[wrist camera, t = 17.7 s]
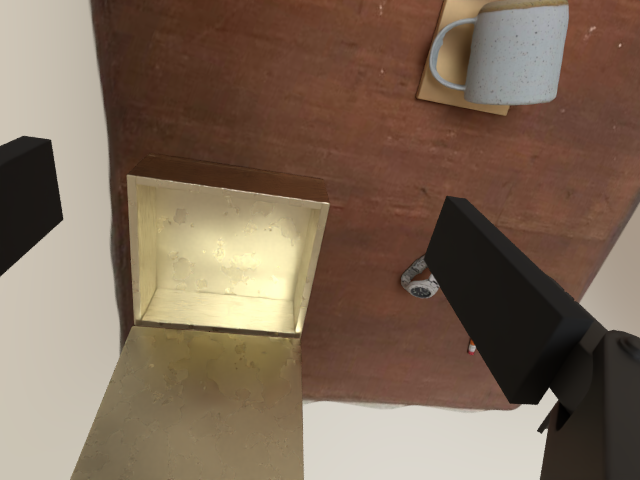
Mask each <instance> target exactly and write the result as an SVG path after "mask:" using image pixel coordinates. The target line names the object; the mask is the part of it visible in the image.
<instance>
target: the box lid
mask: <svg viewBox="0 0 640 480" xmlns="http://www.w3.org/2000/svg"><path fill="white" fill-rule="evenodd" d="M303 466H304V464H303V412H302V357H301V339H290V338H277V337H264V336H252V335H239V334H227V333H214V332H202V331H189V330H177V329H164V328H152V327H139V326H132V328H131V331H130V333H129V335H128V338H127V340H126V343H125V345H124V348H123V350H122V353H121V355H120V358H119V360H118V363H117V365H116V368H115V370H114V373H113V375H112V378H111V380H110V382H109V385H108V387H107V390H106V392H105V395H104V397H103V400H102V402H101V405H100V407H99V410H98V412H97V415H96V417H95V419H94V422H93V424H92V427H91V430H90V432H89V434H88V437H87V440H86V442H85V444H84V447H83V449H82V452H81V454H80V457H79V459H78V461H77V464H76V467H75V469H74V471H73V474H72V476H71V479H70V480H304V467H303Z"/></svg>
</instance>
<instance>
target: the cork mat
mask: <svg viewBox="0 0 640 480" xmlns="http://www.w3.org/2000/svg"><path fill="white" fill-rule="evenodd" d="M496 1H504V0H444V2H443V6H442V9H441V13H440V16H439V19H438V23H437V26H436V30H435V33H434V36H433V40H432V43H431V47H432V44H433V41H434V39H435V38H436V36H437V35H438V33H439V32H440V31H441V30H442V29H443V28H444V27H446V26H447V25H449V24H450V23H452V22H455V21H458V20H461V19H466V18H474V17H476V16H477V15H478V13H479V11H480V9H481V8H482V7H483V6H484V5H485V4H487V3H490V2H496ZM473 31H474V24H462V25H458V26H457V27H454V28H452V29H451V30H449V31H448V32H446V33H445V36H444V38H443V45H442V46H441V47H440V50H439V53H438V58H437V65H436V68H437V72H438V73H439V75H440V76H441V77H442V78H443V79H445V80H446V81H448V82H451V83H454V84H459V85H465V83H466V77H467V69H468V64H469V59H470V53H471V43H472V35H473ZM431 47H430V50H431ZM430 50H429V53H428V57H427V60H426V64H425V67H424V71H423V74H422V77H421V81H420V84H419V88H418V91H417V94H416V98H418V99H422V100H427V101H432V102H437V103H443V104H448V105H453V106H458V107H463V108H468V109H473V110H478V111H483V112H488V113H493V114H499V115H504V116H506V114H507V112H508V109H509V107H510V105H485V104H475V103H471V102H468V101H466V100H465V99H464V91H460V90H455V89H450V88H448V87H445V86H444V85H442V84H441V83H439V82H438V81H437V80H436V79H435V78H434V76H433V75H432V73H431V71H430V67H429V55H430Z"/></svg>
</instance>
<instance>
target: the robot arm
mask: <svg viewBox="0 0 640 480" xmlns="http://www.w3.org/2000/svg"><path fill="white" fill-rule="evenodd" d="M62 220H63V214H62V207H61V201H60V194H59V188H58V182H57V175H56V169H55V162H54V156H53V149H52V143H51V140H49V139H43V138H35V137H28V136H22V137H20V138H17V139H15V140H13V141H10V142H8V143H6V144H4V145H1V146H0V276H1V275H2V274H4V273H5V272H6V271H7V270H8V269H9V268H10V267H11V266H12V265H13V264H14V263H16V262H17V261H18V260H19V259H20V258H21V257H22V256H23V255H25V254H26V253H27V252H28V251H29V250H30V249H31V248H32V247H33V246H35V245H36V244H37V243H38V242H39V241H40V240H41V239H42V238H43V237H45V236H46V235H47V234H48V233H49V232H50V231H51V230H52V229H53V228H54V227H56V226H57V225H58V224H59V223H60V222H61V221H62ZM423 260H424V261H425V263H426V265H427V266H428V268H429V270H430V271H431V273H432V275H433V276H434V278H435V280H436V281H437V283H438V285H439V286H440V288H441V290H442V291H443V293H444V295H445V296H446V298H447V300H448V301H449V303H450V305H451V306H452V308H453V310H454V311H455V313H456V315H457V316H458V318H459V320H460V321H461V323H462V325H463V326H464V328H465V330H466V331H467V333H468V335H469V336H470V338H471V340H472V341H473V343H474V345H475V346H476V348H477V350H478V351H479V353H480V355H481V356H482V358H483V360H484V361H485V363H486V365H487V366H488V368H489V370H490V371H491V373H492V375H493V376H494V378H495V380H496V381H497V383H498V385H499V386H500V388H501V390H502V391H503V393H504V395H505V396H506V398H507V399H508V401H509V403H510V404H532V405H533V404H534V405H537V404H538V403H539V402H540V400H541V399H542V397H543V395H544V394H545V393H546V391H547V390H548V388H550V389H551V390H552V392H553V393H554V394H555V396H556V397H557V398H558V401H557V403H556V404H555V405H554V407H553V408H552V410H551V411H550V413H549V414H548V415H547V417H546V418H545V420H544V421H543V423H542V424H541V425H540V427H539V428H538V430H537V431H538V432H540V433H541V434H542V432H543V431H544V430H545V429H548V433H547V439H546V445H545V451H544V458H543V464H542V470H541V476H540V480H640V338H639V337H637V336H634V335H632V334H629V333H626V332H623V331H616V330H612V331H608V330H607V329H605V328H604V327H603V326H602V325H601V324H600V323H599V322H598V321H597V320H596V319H595V318H594V317H593V316H592V315H590V313H588V312H587V311H586V310H585V309H584V308H583V307H582V306H581V305H580V304H579V303H578V302H576V301H574V298H573V297H572V296H570V295H569V294H568V293H567V292H564V289H563V288H562V287H561V286H560V285H559V284H558V283H557V282H556V281H555V280H553V279H552V278H551V277H549V276H548V275H546V274H545V273H544V272H543V271H541V270H540V269H539V268H538V267H537V266H536V265H535V264H534V263H533V262H532V261H531V260H530V259H529V258H528V257H527V256H526V255H525V254H524V253H523V252H521V251H520V250H519V249H518V248H517V247H516V246H515V245H514V244H513V243H512V242H511V241H510V240H509V239H508V238H507V237H506V236H505V235H504V234H503V233H501V232H500V231H499V230H498V229H497V228H496V227H495V226H494V225H493V224H492V223H491V222H490V221H489V220H488V219H487V218H486V217H485V216H484V215H483V214H482V213H480V212H479V211H478V210H477V209H476V208H475V207H474V206H473V205H472V204H471V203H470V202H469V201H468V200H467V199H465V198H458V197H451V196H446V199H445V202H444V204H443V207H442V210H441V213H440V215H439V218H438V221H437V224H436V226H435V229H434V232H433V235H432V237H431V240H430V243H429V246H428V248H427V251H426V254H425V257H424V259H423Z"/></svg>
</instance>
